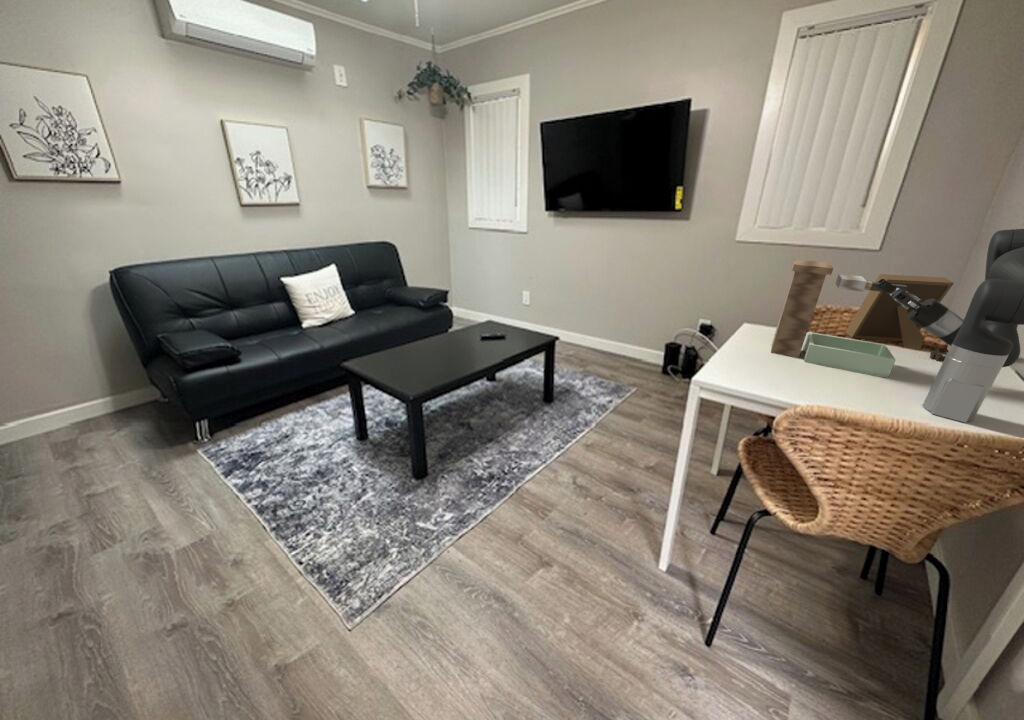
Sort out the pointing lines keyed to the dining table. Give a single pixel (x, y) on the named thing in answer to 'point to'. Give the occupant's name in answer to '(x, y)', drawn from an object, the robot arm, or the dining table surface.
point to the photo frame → (896, 311)
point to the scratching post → (799, 306)
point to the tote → (848, 354)
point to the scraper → (860, 284)
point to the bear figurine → (938, 355)
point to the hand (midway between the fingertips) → (880, 282)
